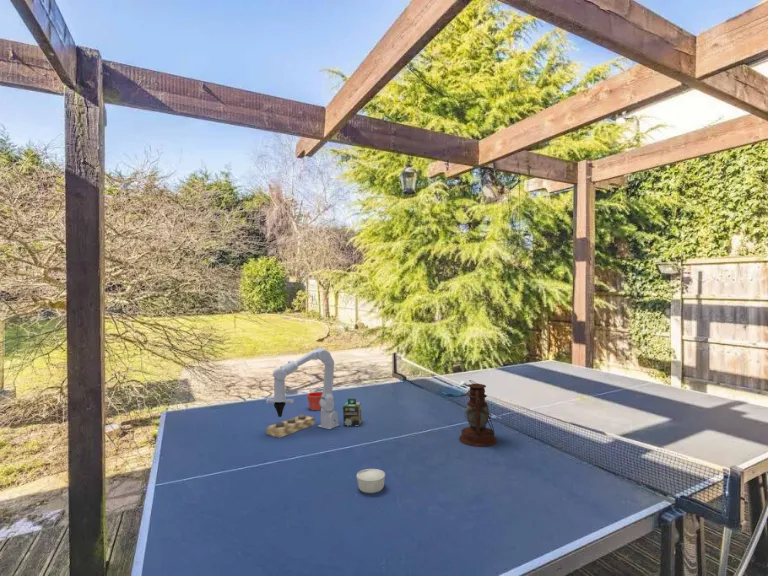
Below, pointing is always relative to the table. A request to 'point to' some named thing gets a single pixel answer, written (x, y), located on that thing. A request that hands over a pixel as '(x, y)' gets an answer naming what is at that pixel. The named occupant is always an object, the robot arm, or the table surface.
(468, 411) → the lantern
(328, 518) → the table surface
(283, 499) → the table surface
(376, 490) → the ramekin
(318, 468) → the table surface
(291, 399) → the robot arm
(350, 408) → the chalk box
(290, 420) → the plunger
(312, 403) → the flower pot
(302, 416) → the plunger
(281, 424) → the plunger
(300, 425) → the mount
